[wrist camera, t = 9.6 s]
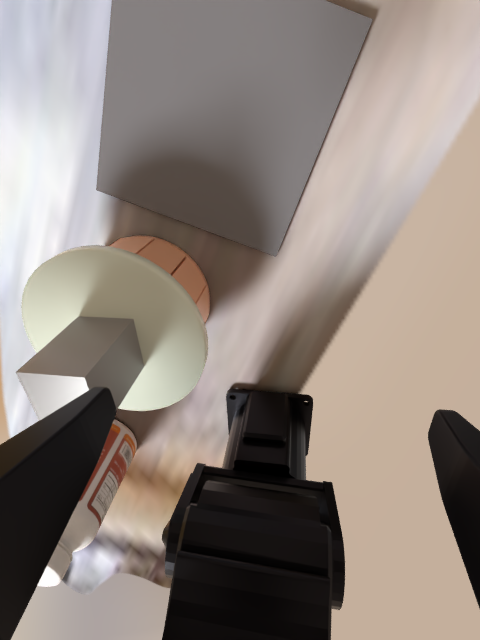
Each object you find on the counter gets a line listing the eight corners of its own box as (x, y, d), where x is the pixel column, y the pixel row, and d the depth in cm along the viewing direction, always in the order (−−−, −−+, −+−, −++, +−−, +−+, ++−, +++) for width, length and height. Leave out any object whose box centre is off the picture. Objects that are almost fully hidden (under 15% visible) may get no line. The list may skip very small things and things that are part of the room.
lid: (215, 407, 20) (190, 489, 16) (64, 395, 22) (2, 466, 17) (198, 246, 15) (155, 300, 11) (2, 244, 17) (-106, 290, 12)
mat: (276, 254, 20) (276, 256, 20) (99, 188, 20) (96, 190, 19) (371, 21, 14) (372, 19, 14) (123, -79, 14) (118, -83, 14)
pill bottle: (63, 427, 32) (-36, 556, 23) (100, 401, 29) (5, 536, 20) (113, 464, 34) (41, 598, 24) (152, 443, 31) (88, 584, 22)
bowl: (214, 346, 24) (196, 394, 20) (110, 339, 25) (72, 383, 21) (204, 236, 20) (179, 267, 16) (81, 234, 21) (27, 263, 17)
